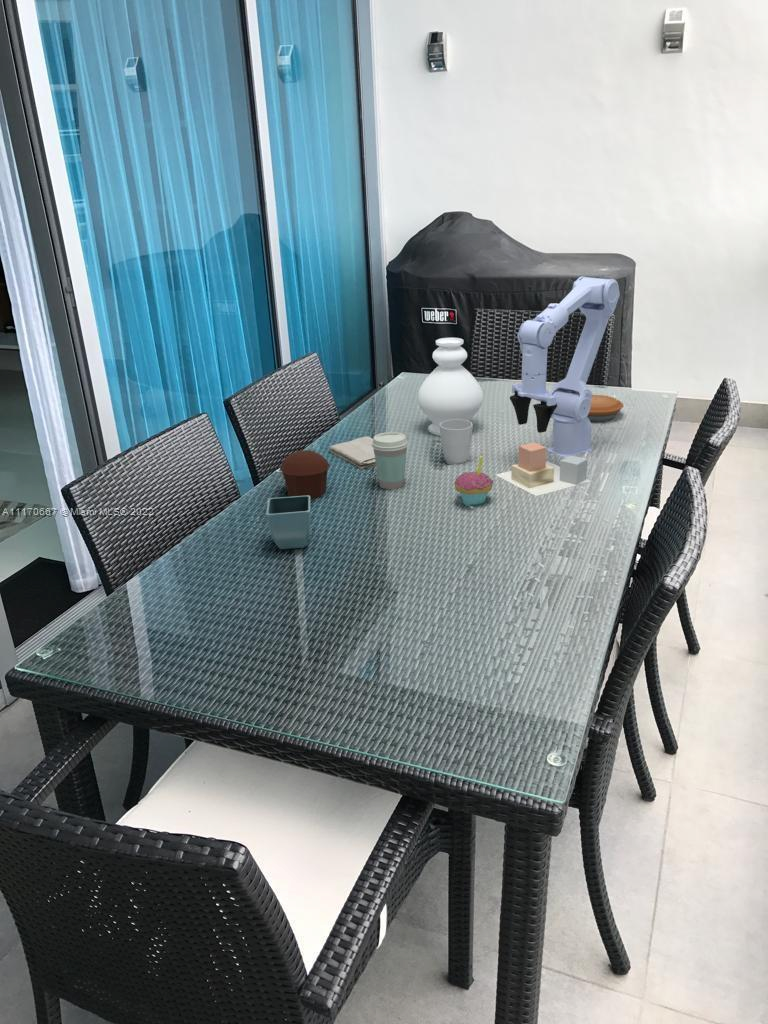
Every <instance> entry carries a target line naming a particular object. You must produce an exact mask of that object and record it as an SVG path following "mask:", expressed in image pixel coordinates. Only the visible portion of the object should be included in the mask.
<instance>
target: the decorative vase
mask: <svg viewBox="0 0 768 1024" xmlns="http://www.w3.org/2000/svg"><path fill="white" fill-rule="evenodd" d="M435 345H436V346H438V347H437V348H436V349H435V350H434V351H433V352H432V355H431V356H432V359H433V362H435V363H436V364H437V365H438V366H436V368H434V369H433V371H431V372H430V373H429V374H428V375H427V377H426V378H425V380H424V381H423V383H422V384H421V385H420V388H419V391H418V395H417V396H418V397H417V402H418V405H419V408H420V410H421V411H422V412H423V413H424V415H425V416H426V417H427V418H428V419H429V420H430V422H431V424H429V425H428V427H427V428H428V432H429V433H430V432H431V435H436V436H439V435H440V423H441V422H443V421H447V420H454V419H460V420H467V421H470V422H471V420H472V419H473V418H474V417H475V416H476V414H477V413H478V411H479V410H480V408H481V407H482V405H483V404H482V403H483V397H484V396H483V395H484V394H483V391H482V390H483V389H482V388H481V386H480V384H479V382H478V381H477V380H476V377H474V376H473V374H472V373H471V372H470V371H469V370H468V369H466V368H465V367H464V365H462V364H463V363H464V362H465V361H466V360H467V358H468V352H467V351H466V349H465V348H464V347H462V345H464V339H462V338H461V337H460V338H459V337H442V338H438V339H436V340H435ZM472 431H474V425H473V424H472ZM440 437H441V435H440Z"/></svg>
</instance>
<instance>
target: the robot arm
mask: <svg viewBox="0 0 768 1024" xmlns="http://www.w3.org/2000/svg"><path fill="white" fill-rule="evenodd" d="M619 287H620V286H619V283H618V281H617V280H616V279H614V278H609V279H608V278H599V277H598V278H597V277H587V276H584V275H583V276H580V277H578V278H577V279H576V280H575V281H573V284H572V288H571V291H570V292H569V293H568V294H567V295H566V296H565V297H564V298H563V299H562V300H561V301H560V302H559V303H549V304H548V305H547V307H546V308H545V309H544V310H542V312H541V313H539V314H537V315H536V316H535V318H533V319H532V320H530V319H527V320H526V321H524V322H522V323H521V325H520V326H519V328H518V329H519V330H518V333H517V341H518V342H519V345H520V347H519V349H520V350H519V351H520V353H521V354H522V356H521V357H522V358H521V360H522V361H521V383H515V384H514V383H513V384H511V393H512V394H513V395H510V396H509V400H510V402H511V403H512V406H513V409H514V411H515V416H516V420H517V424H518V426H519V425H520V426H521V425H526V424H527V423H528V420H529V411H530V410H529V409H530V406H531V402H532V400H535V401H537V402H540V403H535V404H533V405H532V406H533V409H534V412H535V417H536V429H537V433H539V434H540V433H546V432H547V429H548V426H549V423H550V420H551V419H552V441H551V442H552V443H551V444H552V445H551V446H549V447H546V451H548V452H551V453H553V454H555V455H557V456H560V457H561V458H566V457H568V456H570V455H572V456H576V455H579V454H584V453H588V452H593V449H592V447H591V444H592V423H591V422H590V420H589V419H588V418H587V415H588V414H589V411H590V406H591V399H592V395H593V393H592V391H591V389H590V388H589V387H588V385H587V383H588V379H589V377H590V373H591V372H592V368H593V365H594V362H595V359H596V357H597V353H598V351H599V348H600V346H601V342H602V340H603V336H604V334H605V331H606V328H607V326H608V323H609V319H610V318H611V317H613V316H614V312H615V310H616V308H617V304H618V301H619V298H620V295H621V294H620V288H619ZM578 309H579V310H580V313H581V314H583V316H585V322H584V325H583V329H582V331H581V334H580V336H579V340H578V342H577V345H576V348H575V351H574V354H573V357H572V359H571V362H570V365H569V368H568V370H567V373H566V376H565V378H563V379H562V380H559V381H558V382H556V383H554V385H553V386H554V387H553V389H552V391H550V392H549V391H548V390H547V372H548V371H547V368H548V367H547V365H548V364H547V363H548V347H550V346H551V344H552V343H553V340H554V337H555V336H556V333H557V332H558V331H560V329H561V328H563V327H564V326H565V325H567V323H568V322H569V319H570V318H569V316H570V315H571V314H573V312H575V311H576V310H578Z"/></svg>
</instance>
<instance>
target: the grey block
mask: <svg viewBox="0 0 768 1024" xmlns="http://www.w3.org/2000/svg"><path fill="white" fill-rule="evenodd" d="M559 461H560V462H559V467H560V481H563V482H567V483H571V484H575V485H576V486H578V485H577V484H579V483H580V482H582V481H584V480H585V479H587V476H588V475H587V472H588V458H585V457H584V458H583V457H579V456H576V455H570V456H568V457H563V459H561V460H559ZM579 485H580V484H579Z"/></svg>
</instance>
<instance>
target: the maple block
mask: <svg viewBox="0 0 768 1024" xmlns="http://www.w3.org/2000/svg"><path fill="white" fill-rule="evenodd" d="M511 471H512V473H511V479H512V480H514V481H516V482H518V483H520V484H522V485H524V486H526V487H528V488H533V487H537V486H540V485H544V484H548V483H552V482H554V468H553V467H551V466H549V465H547V464H546V468H543V469H539V470H535V471H531V472H530V471H527V470H525V469H523V468H521V467H519V466H518V463H515V464H512V465H511Z"/></svg>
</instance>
